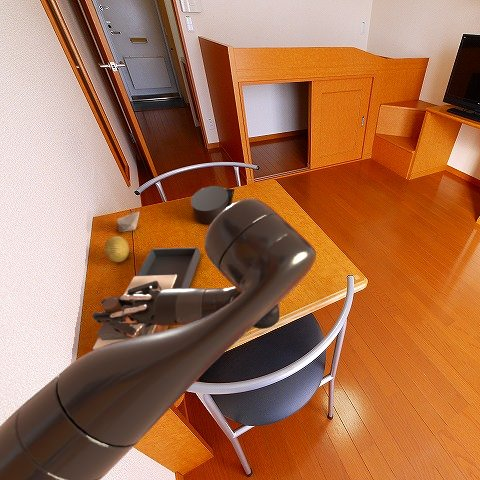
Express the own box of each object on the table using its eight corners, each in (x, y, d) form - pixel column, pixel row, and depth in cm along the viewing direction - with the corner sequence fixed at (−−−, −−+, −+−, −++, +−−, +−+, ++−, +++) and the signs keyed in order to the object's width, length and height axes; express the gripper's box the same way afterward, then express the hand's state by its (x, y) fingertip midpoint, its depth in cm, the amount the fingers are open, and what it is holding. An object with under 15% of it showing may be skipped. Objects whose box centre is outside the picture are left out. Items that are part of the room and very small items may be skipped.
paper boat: (104, 231, 95) (114, 211, 100) (123, 240, 99) (132, 220, 105) (124, 220, 90) (133, 199, 95) (143, 229, 94) (151, 209, 100)
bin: (185, 297, 76) (182, 289, 74) (131, 299, 75) (126, 292, 73) (200, 254, 89) (198, 247, 87) (155, 256, 88) (151, 248, 86)
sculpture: (121, 250, 90) (110, 231, 85) (134, 249, 90) (124, 230, 85) (110, 268, 84) (97, 248, 79) (124, 267, 84) (112, 247, 79)
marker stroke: (136, 308, 66) (135, 307, 66) (120, 308, 66) (119, 308, 66) (137, 304, 67) (137, 303, 67) (122, 305, 67) (121, 304, 67)
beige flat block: (156, 358, 63) (146, 345, 59) (105, 361, 62) (92, 348, 58) (182, 288, 79) (176, 274, 75) (142, 290, 78) (134, 276, 74)
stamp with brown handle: (145, 338, 60) (127, 312, 54) (102, 340, 60) (78, 315, 54) (153, 318, 64) (138, 292, 58) (113, 320, 64) (92, 294, 57)
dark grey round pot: (190, 227, 102) (184, 211, 96) (201, 198, 114) (196, 183, 109) (230, 227, 103) (227, 211, 98) (236, 198, 116) (234, 183, 111)
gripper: (189, 270, 61) (107, 273, 60) (168, 325, 51) (68, 330, 49) (198, 291, 66) (122, 294, 65) (180, 346, 56) (89, 351, 54)
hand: (99, 310), depth 57 cm, fingers closed on stamp with brown handle, 3 cm apart
